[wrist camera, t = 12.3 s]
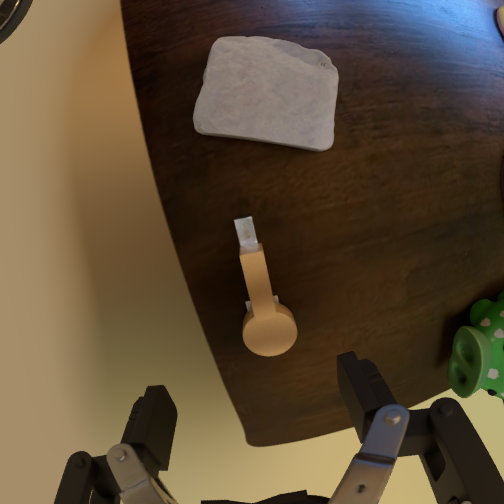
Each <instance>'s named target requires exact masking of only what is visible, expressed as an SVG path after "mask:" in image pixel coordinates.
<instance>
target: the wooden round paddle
mask: <svg viewBox="0 0 504 504" xmlns="http://www.w3.org/2000/svg"><path fill="white" fill-rule="evenodd" d="M239 257H240V261H241V265H242V269H243V273H244V277H245V281H246V285H247V289H248V293H249V297H250V301H251V305H252V308H251V309H250V310H249V311H248V312H247V313H246V315H245V317H244V320H243V340H244V343H245V345H246V346H247V347H248V348H249V349H250V350H251V351H252V352H254V353H256V354H258V355H262V356H275V355H279V354H281V353H283V352H285V351H287V350H288V349H289V348H290V347H291V346H292V345H293V344H294V342H295V340H296V337H297V327H296V324H295V320H294V317H293V315H292V313H291V311H290V310H289V309H288V308H287V307H285V306H284V305H282V304H279V303H276V302H274V299H273V294H272V290H271V285H270V280H269V276H268V271H267V266H266V262H265V257H264V252H263V248H262V243H258V244H253V245H249V246H244V247H240V254H239Z"/></svg>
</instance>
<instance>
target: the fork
mask: <svg viewBox="0 0 504 504" xmlns="http://www.w3.org/2000/svg"><path fill="white" fill-rule="evenodd" d="M234 223H235V227H236V231H237V235H238V239H239V243H240V247H244V246H249V245H253V244H258V241H257V237H256V232H255V228H254V223H253V219H252V214H248V215H244V216H239V217H235V218H234ZM272 294H273V299H274V302H276V303H279V299H278V294H277V291H276V290H275V291H272ZM245 303H246V307H247V311H249V310H250V309H251V308H252V305H251V301H250V297H249V296H247V297H245Z"/></svg>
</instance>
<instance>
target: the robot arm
mask: <svg viewBox="0 0 504 504" xmlns="http://www.w3.org/2000/svg"><path fill="white" fill-rule="evenodd" d="M21 2H22V0H0V32H1V31H2V30H3V29H4V28H5V27H6V26H7V25H8V23H9V22H10V21H11V20H12V18H13V17H14V15H15V14H16V12H17V10H18V9H19V7H20V5H21ZM337 375H338V384H339V388H340V391H341V394H342V396H343V399H344V401H345V404H346V406H347V409H348V412H349V414H350V417H351V419H352V422H353V424H354V427H355V429H356V432H357V435H358V438H359V440H360V443H361V444H362V443H363V444H362V447H361V449H360V451H359V452H358V454H356V455H355V456H354V457H353V459H352V461H351V463H350V465H349V467H348V469H347V470H346V472H345V474H344V476H343V478H342V480H341V482H340V483H339V485H338V487H337V488H336V490H335V492H334V494H333V495H332V497H331V498H327V497H323V496H316V495H307V490H303V491H297V492H291V493H285V494H280V495H277V496H274V497H271V498H268V499H265V500H262V501H259V502H256V503H244V502H237V501H229V500H209V501H208V500H207V501H205V500H204V501H201V504H378V502H379V500H380V498H381V496H382V494H383V491H384V489H385V487H386V484H387V482H388V480H389V477H390V475H391V473H392V470H393V467H394V465H395V462H396V460H397V457H403V456H412V455H419V457H420V459H421V462H422V464H423V467H424V469H425V472H426V474H427V476H428V479H429V482H430V485H431V487H432V490H433V492H434V495H435V498H436V501H437V503H438V504H504V481H503V479H502V477H501V476H500V473H499V471H498V469H497V467H496V465H495V464H494V462H493V460H492V458H491V456H490V455H489V453H488V451H487V449H486V447H485V445H484V444H483V442H482V440H481V438H480V437H479V435H478V433H477V432H476V430H475V428H474V427H473V425H472V423H471V422H470V420H469V418H468V417H467V415H466V413H465V412H464V410H463V409H462V407H461V405H460V404H459V403H458V402H457V401H456V400H454V399H452V398H447V397H445V398H440V399H437V400H436V401H434V402H433V403H432V405H431V407H430V408H426V409H419V410H409V409H406V408H405V407H404V406H402V405H399V404H398V403H397V402H396V400H395V399H394V397H393V395H392V393H391V392H390V390H389V388H388V386H387V385H386V383H385V381H384V380H383V378H382V376H381V374H380V373H379V371H378V369H377V367H376V366H375V364H374V363H372V362H371V361H369V360H368V359H362V360H358V359H357V357H356V355H355V353H354V352H353V351H350V352H347V353H343V354H339V355H337ZM176 422H177V409H176V406H175V404H174V402H173V401H172V399H171V397H170V395H169V393H168V391H167V389H166V388H165V386H164V385H156V386H148V387H147V389H146V392H145V395H144V397H139V399H138V400H137V401H136V402H135V403H134V405H133V408H132V411H131V414H130V416H129V421H128V422H127V425H126V428H125V431H124V434H123V437H122V440H121V443H120V444H117V445H115V446H113V447H112V448H111V449H110V450H109V451H108V453H107V455H103V456H97V457H91V456H90V455H89V454H88V453H87V452H85V451H79V452H76V453H74V454H72V455H71V456H70V458H69V459H68V462H67V465H66V467H65V470H64V473H63V476H62V480H61V483H60V486H59V488H58V492H57V495H56V498H55V501H54V504H89V500H90V504H120V500H121V499H122V501H123V503H124V504H178V503H177V501H176V500H175V499H174V497H173V496H172V495H171V493H170V492H169V491H168V489H167V488H166V486H165V485H164V483H163V482H162V481H161V479H160V478H159V477H158V473H159V471H160V470H161V471H168V466H169V460H170V453H171V448H172V443H173V437H174V432H175V427H176ZM92 490H93V491H92ZM91 492H92V495H91ZM90 496H91V499H90Z"/></svg>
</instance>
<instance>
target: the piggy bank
mask: <svg viewBox="0 0 504 504" xmlns="http://www.w3.org/2000/svg"><path fill="white" fill-rule="evenodd" d="M470 321H471V323H472V325H473V327H471V326H462V327H460V328H459V329H458V331H457V332H456V335H455V337H454V340H453V346H452V354H451V356H450V358H449V362H448V370H447V374H448V382H449V384H450V387H451V388H452V390H453V391H454V392H455V393H456V394H457V395H458V396H459V397H461V398H468V397H470V396H471V395H472V394H473V393H475V392H476V391H477V390H479V389H480V388H482V389H484V390H485V391H487V392H488V394H489V395H491V396H496V397H499V398H501V399H502V400H503V403H504V291H502V292H501V293H500V294H499V295H498V298H497V302H491V301H490V300H488V299H482V300H479V301H477V302H476V303H475V304H474V305H473V306H472V308H471V310H470Z"/></svg>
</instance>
